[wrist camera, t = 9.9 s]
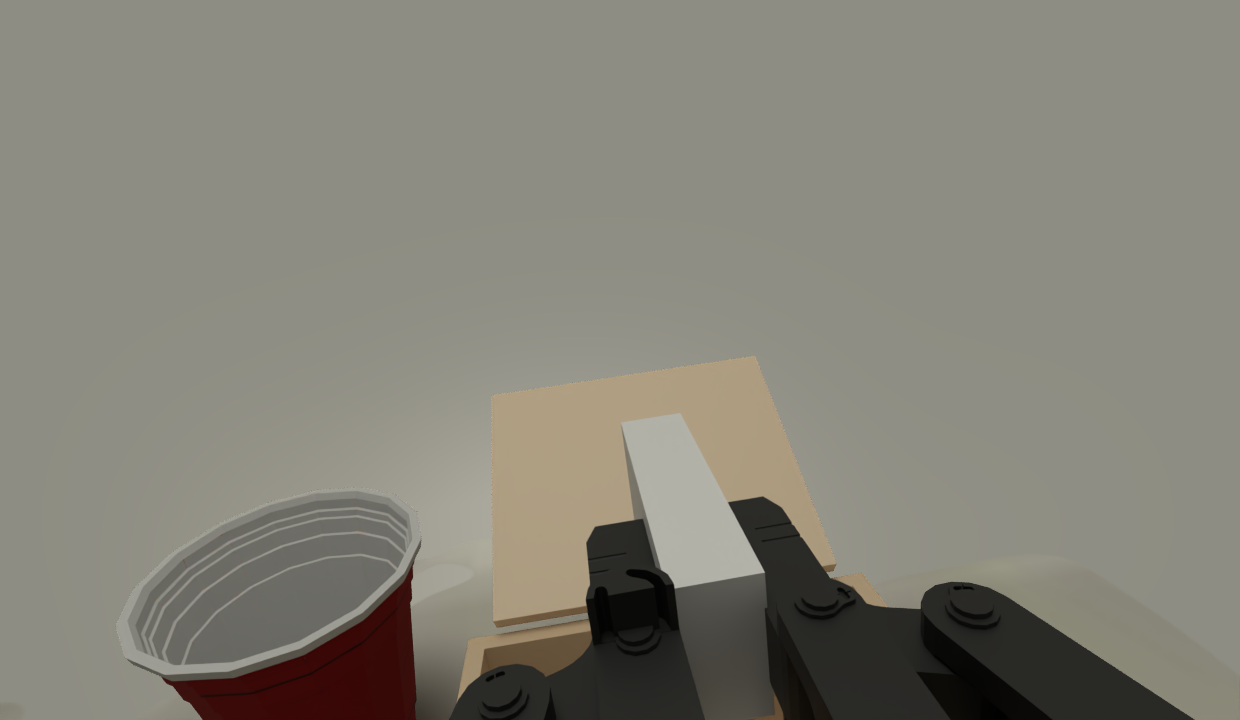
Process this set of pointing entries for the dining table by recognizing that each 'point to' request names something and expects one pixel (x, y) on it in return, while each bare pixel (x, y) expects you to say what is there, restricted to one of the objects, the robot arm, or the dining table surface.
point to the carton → (576, 645)
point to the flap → (621, 471)
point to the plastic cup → (286, 611)
